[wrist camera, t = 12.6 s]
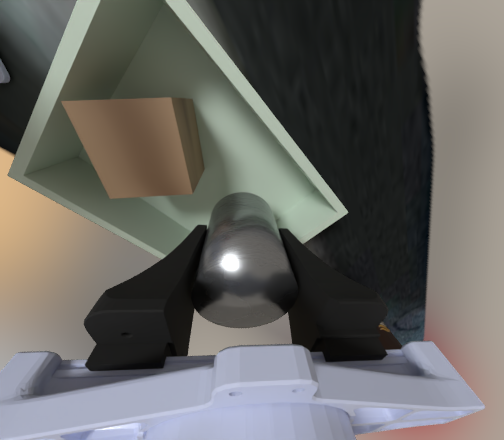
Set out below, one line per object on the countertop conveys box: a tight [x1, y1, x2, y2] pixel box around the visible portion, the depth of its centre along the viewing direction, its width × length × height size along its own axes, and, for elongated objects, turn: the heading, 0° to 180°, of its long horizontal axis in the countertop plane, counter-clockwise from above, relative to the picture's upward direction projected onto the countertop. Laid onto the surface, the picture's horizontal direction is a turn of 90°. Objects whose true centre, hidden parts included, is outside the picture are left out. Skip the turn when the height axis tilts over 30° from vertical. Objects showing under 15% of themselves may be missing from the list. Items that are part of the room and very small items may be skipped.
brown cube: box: [61, 97, 205, 199], centre depth 12 cm, size 5×5×5 cm
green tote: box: [8, 0, 348, 259], centre depth 14 cm, size 17×13×5 cm
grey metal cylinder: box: [191, 192, 298, 328], centre depth 12 cm, size 5×5×7 cm
